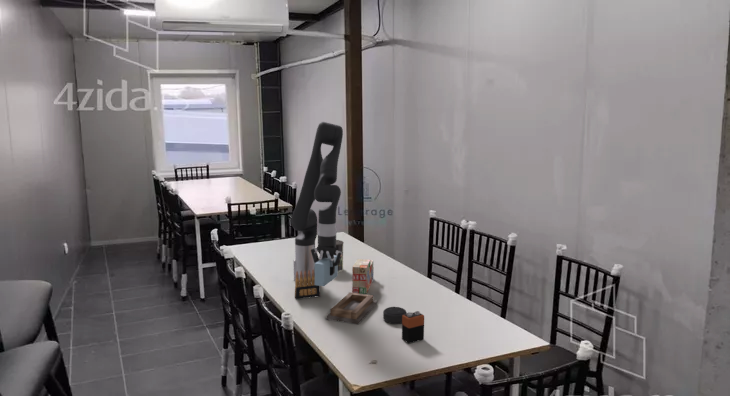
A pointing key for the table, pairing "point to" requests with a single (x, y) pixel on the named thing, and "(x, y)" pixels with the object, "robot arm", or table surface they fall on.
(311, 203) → the robot arm
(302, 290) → the ammunition clip
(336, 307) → the cradle
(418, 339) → the battery
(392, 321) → the smart speaker
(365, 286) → the stack of blocks
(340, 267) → the coffee can
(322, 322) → the table surface
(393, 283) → the table surface
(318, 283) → the blue grey rectangular block
